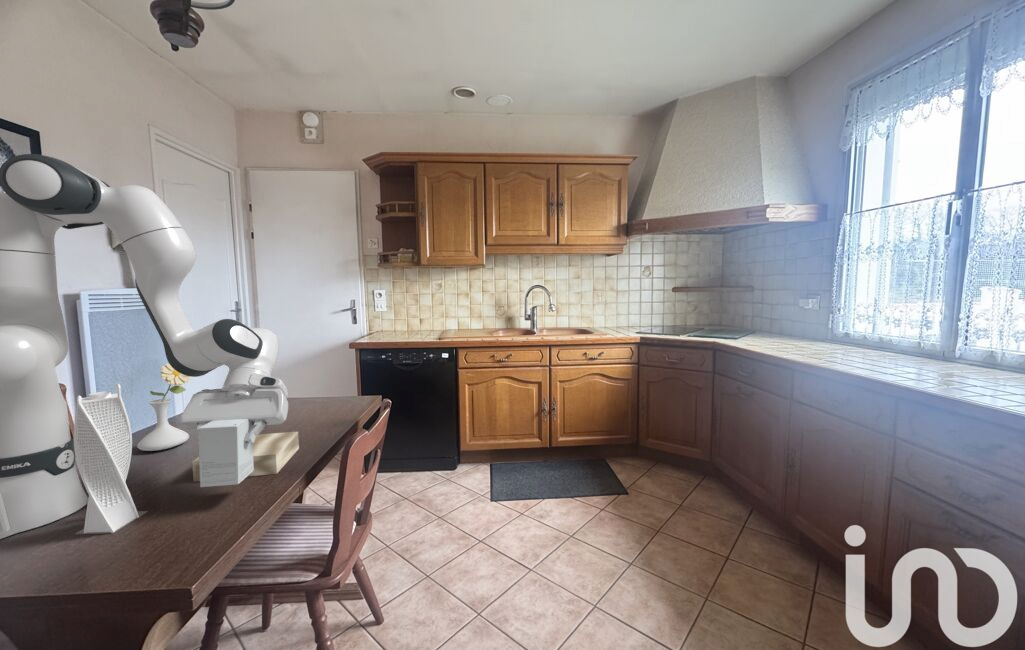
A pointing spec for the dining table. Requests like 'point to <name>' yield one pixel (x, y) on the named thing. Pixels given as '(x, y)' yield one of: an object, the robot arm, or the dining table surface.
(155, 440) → the flower in vase
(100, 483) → the skyscraper
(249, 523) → the dining table surface
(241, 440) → the supplement box
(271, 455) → the birch stand
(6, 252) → the robot arm
